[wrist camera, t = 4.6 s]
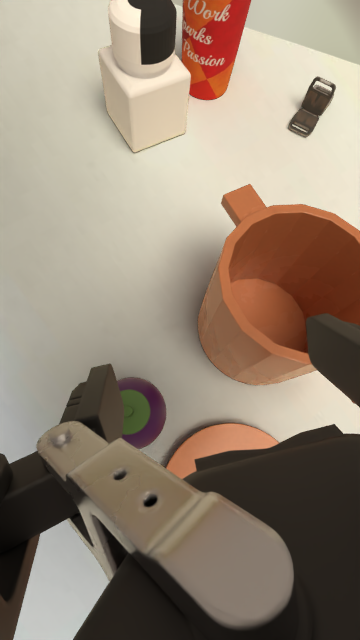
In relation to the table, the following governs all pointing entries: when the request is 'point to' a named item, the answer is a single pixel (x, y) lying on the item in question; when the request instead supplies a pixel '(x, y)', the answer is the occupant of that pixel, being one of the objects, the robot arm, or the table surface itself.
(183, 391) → the table surface
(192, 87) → the coffee cup
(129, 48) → the medicine bottle
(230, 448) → the lid
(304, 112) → the strap clip
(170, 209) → the table surface
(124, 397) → the aubergine
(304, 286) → the pot
